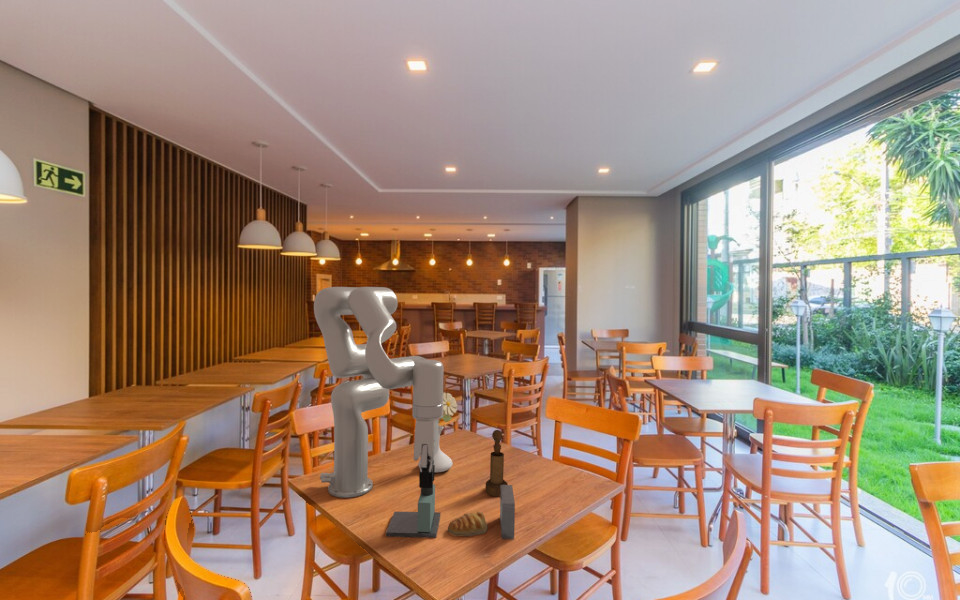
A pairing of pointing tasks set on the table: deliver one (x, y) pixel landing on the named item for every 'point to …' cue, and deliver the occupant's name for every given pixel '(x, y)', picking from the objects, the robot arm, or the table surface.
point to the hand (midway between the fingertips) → (426, 483)
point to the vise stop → (507, 512)
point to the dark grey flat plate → (410, 525)
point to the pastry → (468, 525)
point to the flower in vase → (449, 407)
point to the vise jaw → (426, 508)
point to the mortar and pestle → (496, 467)
